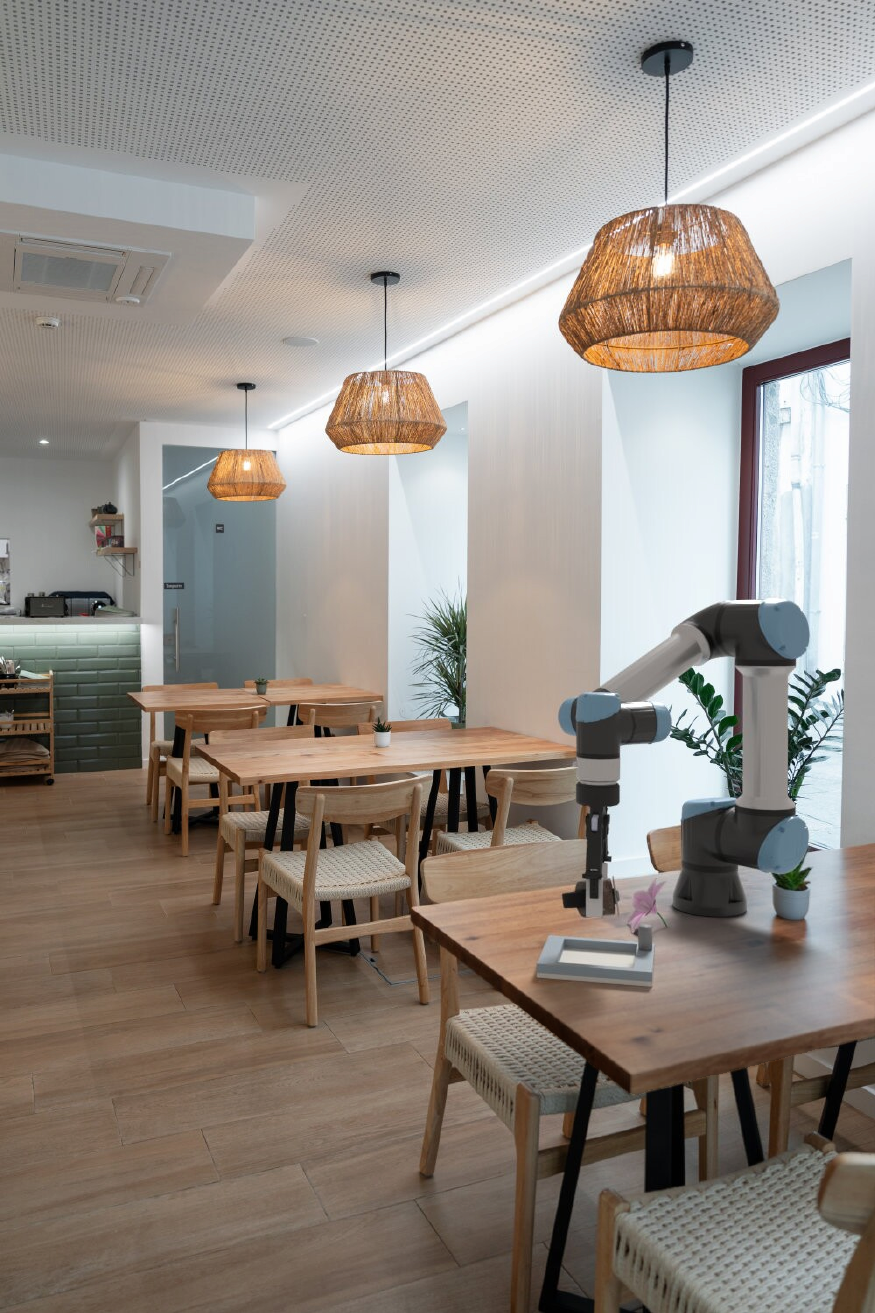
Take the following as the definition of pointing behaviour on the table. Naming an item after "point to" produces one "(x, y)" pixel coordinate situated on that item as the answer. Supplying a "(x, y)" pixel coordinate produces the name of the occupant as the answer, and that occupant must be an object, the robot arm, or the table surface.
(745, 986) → the table surface
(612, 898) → the caster wheel
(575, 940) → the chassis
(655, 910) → the lily
